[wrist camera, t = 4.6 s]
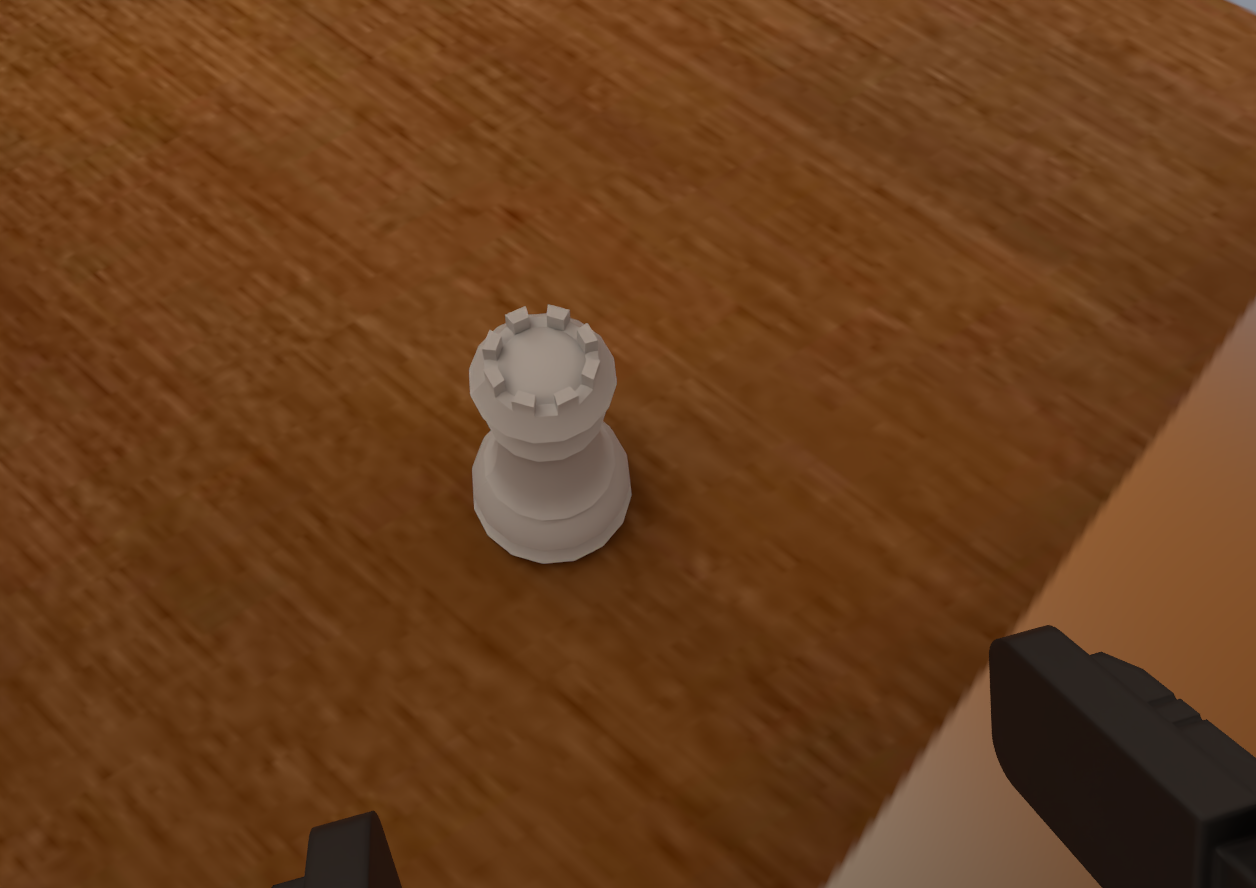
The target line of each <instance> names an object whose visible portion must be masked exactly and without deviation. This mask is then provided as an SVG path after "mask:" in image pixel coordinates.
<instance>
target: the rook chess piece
mask: <svg viewBox="0 0 1256 888" xmlns="http://www.w3.org/2000/svg"><path fill="white" fill-rule="evenodd" d="M505 319H506V323H505V324H503V325H500V326H498V327H497V328H496V329H495V330H494V331H491V330H490V331H489V333H488V336H487V338H486V339H485V340H484V341H483V342H482V343H481V344H480V345H479V346H478V349H477V351H476V354H475V356H474V358H473V361H472V363H471V366H470V368H469V379H470V395H471V397H472V399H473V401H474V403H475V405H476V406H477V408H478V410H479V412H480V414H481V416H482V417H483V419H484V420H486V421H487V424H488V426H489V428H490V429H491V431H490V432H489V433H488V434H487V435H486V436H485V437H484V439H483V441H482V444H481V446H480V449H479V451H478V454H477V457H476V459H475V462H474V464H473V467H472V477H473V496H474V510H475V512H476V513H477V515H478V517H479V519H480V521H481V523H482V525H483V527H484V529H485V531H486V533H487V535H488V536H489V537H490V538H492V539H493V540H494V541H495V542H497V543H498V544H499V545H500V546H502V547H503V548H504V549H505V550H507V551H508V552H509V553H510V554H512V555H514V556H518V557H521V558H525V559H528V560H531V561H535V562H538V563H542V564H545V563H556V562H566V561H575V560H577V559H579V558H581V557H583V556H585V555H587V554H589V553H591V552H593V551H595V550H597V549H599V548H601V547H602V546H604V544H605V543H606V542H607V541H608V540H609V539H610V537H611V536H612V535H613V534H614V533H615V532H616V530H617V529H618V528H619V527H620V526H621V525H622V524H623V521H624V518H625V515H626V511H627V508H628V505H629V502H630V498H631V495H632V494H631V486H630V476H629V468H628V460H627V454H626V452H625V451H624V449H623V447H622V446H621V444H620V442H619V441H618V439H617V437H616V436H615V434H614V432H613V431H612V429H611V428H610V426H608V425H607V424H606V423H604V422H603V419H604V416H605V413H606V412H605V411H606V410H607V409H608V408H609V405H610V402H611V399H612V396H613V393H614V390H615V387H616V384H617V380H616V372H615V363H614V357H613V356H612V354H611V353H610V351H609V349H608V348H607V346H606V344H605V343H604V341H603V340H602V338H601V336H600V335H598V334H597V333H595V332H594V331H593V330H591V328H590V326H589V325H588V323H586V324H585V325H584V324H583V323H581V322H580V321H579V320H575V319H571V318H570V310H567V309H564V308H560V307H556V306H553V305H549V304H548V309H547V314H534V315H528V312H527V309H526V306H524V307H522V308H520V309H518V310H515V311H513V312H511V313H508V314H506V315H505Z"/></svg>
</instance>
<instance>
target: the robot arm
mask: <svg viewBox="0 0 1256 888" xmlns="http://www.w3.org/2000/svg"><path fill="white" fill-rule="evenodd" d="M989 668H990V695H991V721H992V739H993V745H994V748H995V752H996V755H997V758H998V760H999V763H1000V765H1001V767H1002V769H1003V771H1004V773H1005V775H1006V777H1007V778H1008V780H1009V781H1010V782H1011V784H1012V785H1013V786H1014V787H1015V789H1016V790H1017V791H1018V792H1019V793H1020V794H1021V795H1022V797H1023V798H1024V799H1025V800H1026V801H1027V802H1028V803H1029V805H1030V806H1031V807H1032V808H1033V809H1034V810H1035V811H1036V813H1037V814H1038V815H1039V816H1040V817H1041V818H1042V819H1043V821H1044V822H1045V823H1046V824H1047V825H1048V826H1049V827H1050V829H1051V830H1052V831H1053V832H1054V833H1055V834H1056V835H1057V836H1058V838H1059V839H1060V840H1061V841H1062V842H1063V843H1064V845H1066V847H1067V848H1068V849H1069V850H1070V851H1071V852H1072V854H1073V855H1074V856H1075V857H1076V858H1077V859H1078V860H1079V862H1080V863H1081V864H1082V865H1083V866H1084V867H1085V868H1086V870H1087V871H1088V872H1089V873H1090V874H1091V875H1092V877H1093V878H1094V879H1095V880H1096V881H1097V882H1098V883H1099V885H1100V886H1101V887H1102V888H1256V758H1255V757H1254V756H1253V755H1251V754H1250V753H1249V752H1247V751H1246V750H1245V749H1244V748H1242V747H1241V746H1240V745H1239V744H1237V743H1236V742H1235V741H1234V740H1232V739H1231V738H1230V737H1228V736H1227V735H1226V734H1225V733H1223V732H1222V731H1221V730H1219V729H1218V728H1217V727H1216V726H1214V725H1213V724H1212V723H1211V722H1209V721H1208V720H1207V719H1206V720H1202V719H1201V717H1200V714H1199V713H1198V712H1197V711H1195V710H1194V709H1193V708H1192V707H1190V706H1189V705H1188V704H1187V703H1185V702H1184V701H1183V700H1181V699H1178V700H1177V699H1176V698H1175V696H1174V693H1173V692H1171V691H1170V690H1169V689H1167V688H1166V687H1165V686H1164V685H1162V684H1161V683H1160V682H1159V681H1157V680H1156V679H1155V678H1154V677H1152V676H1151V675H1150V674H1148V673H1147V672H1146V671H1145V670H1143V669H1141V668H1139V667H1137V666H1134V665H1132V664H1129V663H1127V662H1125V661H1122V660H1120V659H1117V658H1115V657H1113V656H1110V655H1108V654H1105V653H1103V652H1099V653H1095V654H1092V655H1089V654H1088V653H1086V652H1085V651H1084V650H1083V649H1082V648H1080V647H1079V646H1078V645H1077V644H1075V643H1074V642H1073V641H1072V640H1071V639H1069V638H1068V637H1067V636H1066V635H1065V634H1063V633H1062V632H1061V631H1060V630H1058V629H1057V628H1055V627H1053V626H1050V625H1047V626H1043V627H1039V628H1035V629H1031V630H1028V631H1024V632H1021V633H1017V634H1014V635H1010V636H1006V637H1003V638H999V639H996V640H994V641H993V642H992V644H991V646H990V650H989ZM272 888H402V886H401V883H400V880H399V877H398V874H397V871H396V868H395V865H394V862H393V859H392V855H391V852H390V849H389V846H388V843H387V840H386V837H385V834H384V831H383V828H382V825H381V822H380V819H379V817H378V815H377V813H376V812H375V811H371V812H367V813H364V814H360V815H356V816H353V817H349V818H346V819H342V820H338V821H335V822H331V823H328V824H324V825H320V826H317V827H314V828H312V829H311V832H310V835H309V842H308V851H307V860H306V868H305V877H301V878H298V879H294V880H291V881H287V882H284V883H280V884H277V885H273V886H272Z"/></svg>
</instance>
